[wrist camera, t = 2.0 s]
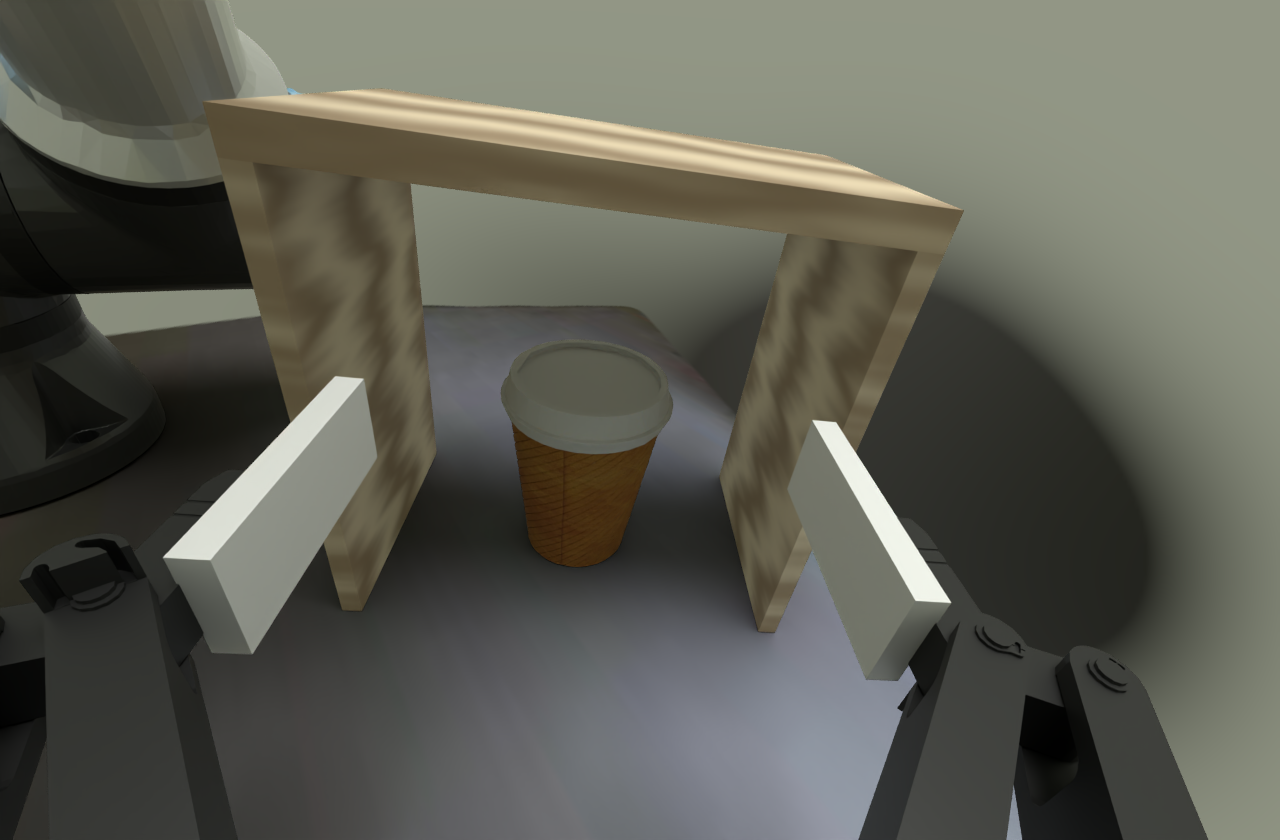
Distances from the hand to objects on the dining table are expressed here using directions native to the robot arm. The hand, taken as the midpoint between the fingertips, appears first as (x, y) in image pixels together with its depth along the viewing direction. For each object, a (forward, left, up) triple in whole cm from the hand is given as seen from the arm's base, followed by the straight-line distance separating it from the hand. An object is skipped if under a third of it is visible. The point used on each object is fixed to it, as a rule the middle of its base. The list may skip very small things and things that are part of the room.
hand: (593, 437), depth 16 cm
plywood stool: (-11, +6, -17) cm, 21 cm away
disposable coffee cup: (-11, +6, -17) cm, 21 cm away
